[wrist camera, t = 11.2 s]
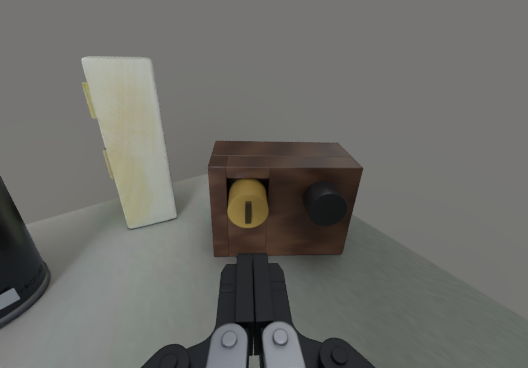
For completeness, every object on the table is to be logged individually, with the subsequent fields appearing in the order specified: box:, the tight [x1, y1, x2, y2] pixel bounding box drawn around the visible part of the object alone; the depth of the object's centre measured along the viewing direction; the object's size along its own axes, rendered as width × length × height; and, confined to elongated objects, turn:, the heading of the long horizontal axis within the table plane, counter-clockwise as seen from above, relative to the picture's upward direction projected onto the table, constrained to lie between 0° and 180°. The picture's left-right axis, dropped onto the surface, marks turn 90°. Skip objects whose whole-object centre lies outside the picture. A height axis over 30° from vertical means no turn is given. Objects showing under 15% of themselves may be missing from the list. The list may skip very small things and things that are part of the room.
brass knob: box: [227, 178, 269, 228], centre depth 26 cm, size 4×4×4 cm
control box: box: [208, 141, 363, 257], centre depth 31 cm, size 16×11×12 cm
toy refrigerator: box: [81, 56, 177, 229], centre depth 34 cm, size 8×7×21 cm
